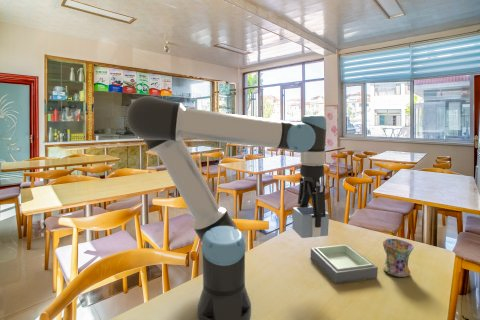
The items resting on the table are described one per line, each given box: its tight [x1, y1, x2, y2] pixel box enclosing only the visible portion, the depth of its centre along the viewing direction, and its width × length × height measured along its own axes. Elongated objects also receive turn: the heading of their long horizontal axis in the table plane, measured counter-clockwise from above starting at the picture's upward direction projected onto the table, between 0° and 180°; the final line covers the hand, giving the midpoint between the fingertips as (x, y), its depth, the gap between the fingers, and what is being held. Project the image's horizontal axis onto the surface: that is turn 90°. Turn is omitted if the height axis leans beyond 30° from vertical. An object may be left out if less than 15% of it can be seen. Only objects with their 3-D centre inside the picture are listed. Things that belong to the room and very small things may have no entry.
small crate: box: [291, 205, 330, 239], centre depth 97 cm, size 9×8×8 cm
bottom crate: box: [310, 243, 379, 285], centre depth 107 cm, size 16×19×4 cm
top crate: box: [314, 244, 372, 271], centre depth 106 cm, size 13×16×4 cm
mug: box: [382, 238, 414, 278], centre depth 104 cm, size 12×9×11 cm
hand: (309, 230), depth 97 cm, fingers closed on small crate, 8 cm apart
